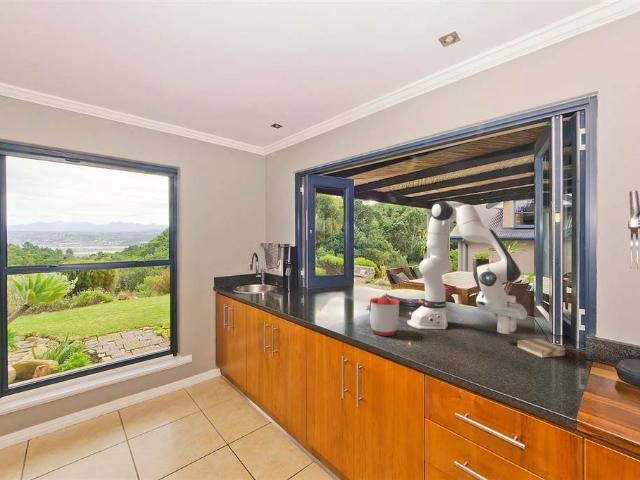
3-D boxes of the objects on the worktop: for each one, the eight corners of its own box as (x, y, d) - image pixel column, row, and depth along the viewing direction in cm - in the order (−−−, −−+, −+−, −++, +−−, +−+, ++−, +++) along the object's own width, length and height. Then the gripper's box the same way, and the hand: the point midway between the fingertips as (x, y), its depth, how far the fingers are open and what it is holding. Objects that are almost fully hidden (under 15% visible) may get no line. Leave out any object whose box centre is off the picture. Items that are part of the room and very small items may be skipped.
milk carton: (501, 326, 164) (502, 293, 164) (516, 329, 159) (517, 295, 159) (498, 329, 159) (498, 295, 159) (513, 332, 154) (513, 297, 154)
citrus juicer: (366, 326, 162) (366, 291, 162) (398, 329, 159) (398, 292, 159) (364, 336, 147) (365, 297, 147) (400, 339, 144) (400, 298, 143)
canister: (502, 334, 136) (504, 307, 136) (493, 330, 142) (495, 303, 141) (513, 333, 137) (514, 306, 137) (503, 329, 143) (504, 303, 142)
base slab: (542, 357, 123) (542, 350, 123) (517, 346, 134) (517, 340, 134) (564, 355, 125) (565, 348, 125) (538, 345, 137) (538, 338, 137)
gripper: (525, 299, 126) (532, 317, 133) (476, 290, 143) (484, 307, 149) (521, 311, 124) (527, 329, 130) (472, 300, 140) (480, 317, 146)
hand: (504, 317), depth 140 cm, fingers closed on canister, 5 cm apart
